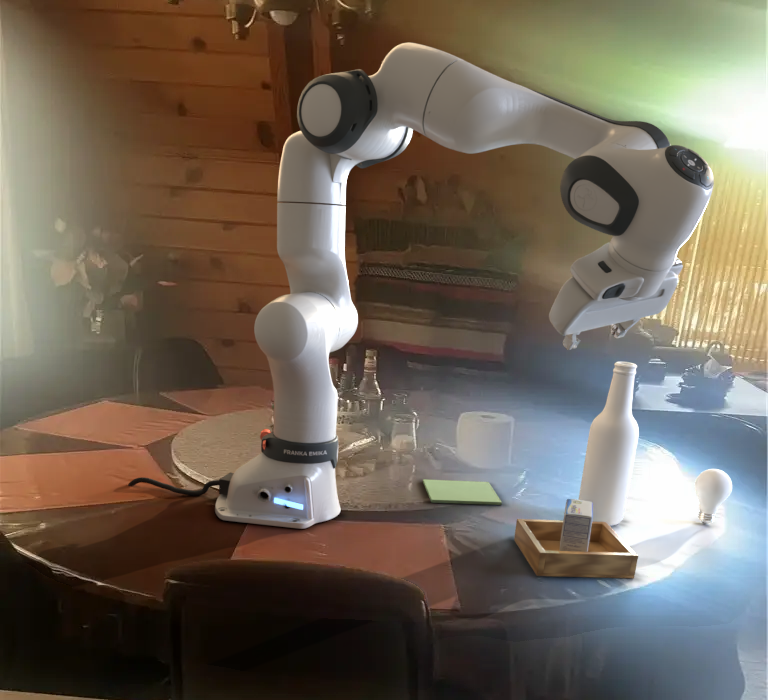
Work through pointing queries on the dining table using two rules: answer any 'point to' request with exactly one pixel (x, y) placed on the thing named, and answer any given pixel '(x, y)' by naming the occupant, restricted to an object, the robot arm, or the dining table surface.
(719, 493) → the light bulb
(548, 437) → the dining table surface
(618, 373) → the alcohol
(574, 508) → the medicine box
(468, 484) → the mat
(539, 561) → the tray
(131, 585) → the dining table surface
